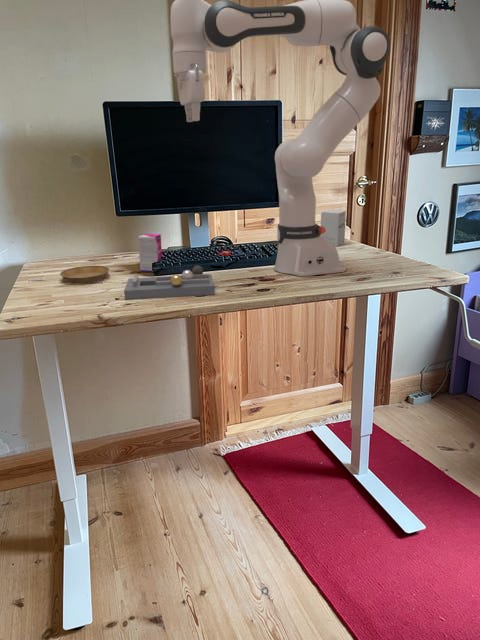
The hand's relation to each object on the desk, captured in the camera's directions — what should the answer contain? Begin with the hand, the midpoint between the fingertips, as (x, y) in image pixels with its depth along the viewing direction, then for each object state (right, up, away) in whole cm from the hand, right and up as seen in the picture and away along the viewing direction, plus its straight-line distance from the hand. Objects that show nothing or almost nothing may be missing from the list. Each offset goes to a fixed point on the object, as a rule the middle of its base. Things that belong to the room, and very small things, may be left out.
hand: (193, 121), depth 139 cm
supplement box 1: (-16, -39, +23) cm, 48 cm away
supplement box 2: (+48, -26, +53) cm, 76 cm away
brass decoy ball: (-4, -45, -4) cm, 45 cm away
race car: (+8, -37, +29) cm, 48 cm away
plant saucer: (-35, -43, +16) cm, 58 cm away
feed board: (-7, -47, +2) cm, 47 cm away
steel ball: (-2, -43, +1) cm, 43 cm away
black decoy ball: (+1, -41, +5) cm, 42 cm away
